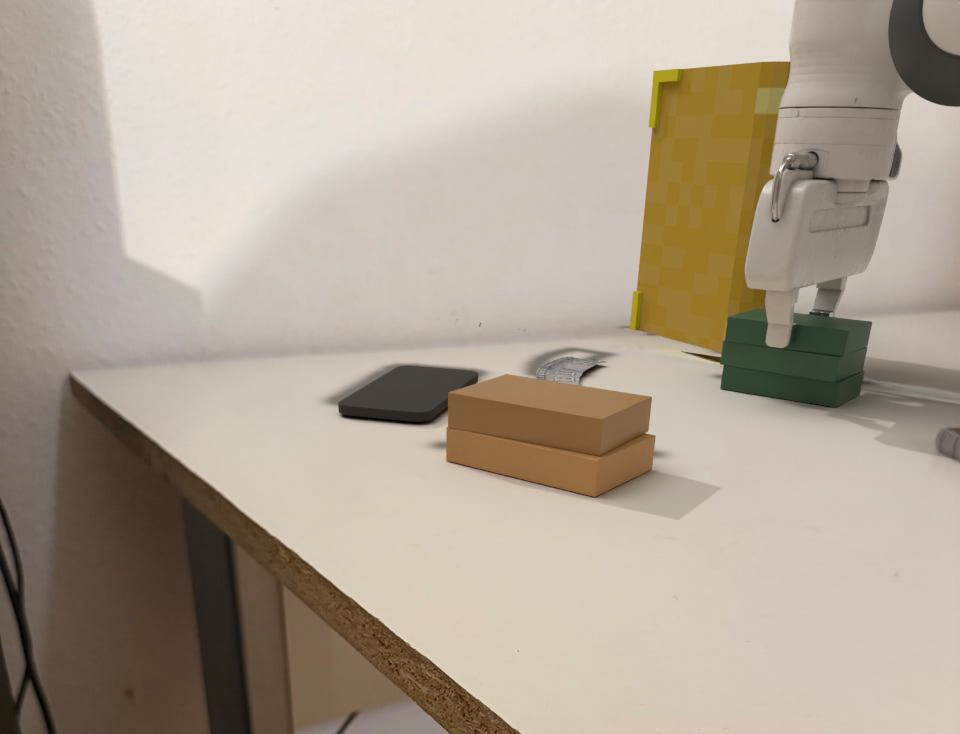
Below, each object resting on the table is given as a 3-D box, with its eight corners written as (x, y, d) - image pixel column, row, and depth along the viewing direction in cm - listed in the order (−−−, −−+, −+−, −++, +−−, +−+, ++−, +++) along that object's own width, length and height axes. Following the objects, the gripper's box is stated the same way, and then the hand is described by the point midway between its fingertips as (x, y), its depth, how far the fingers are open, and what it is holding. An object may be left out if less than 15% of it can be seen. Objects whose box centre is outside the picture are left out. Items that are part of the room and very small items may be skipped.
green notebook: (867, 346, 79) (872, 321, 78) (843, 357, 75) (848, 330, 74) (753, 331, 84) (756, 308, 84) (724, 341, 80) (727, 316, 79)
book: (628, 337, 103) (653, 71, 92) (678, 334, 106) (708, 75, 95) (732, 367, 90) (776, 59, 79) (785, 362, 93) (836, 65, 82)
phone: (332, 404, 70) (399, 364, 82) (332, 415, 70) (399, 374, 83) (428, 413, 68) (482, 371, 81) (428, 425, 68) (482, 381, 81)
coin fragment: (574, 389, 80) (575, 384, 80) (520, 382, 81) (520, 377, 81) (609, 362, 90) (609, 358, 90) (560, 357, 92) (561, 352, 92)
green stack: (860, 394, 81) (870, 346, 79) (834, 408, 76) (844, 357, 74) (745, 376, 87) (752, 331, 85) (713, 389, 82) (720, 341, 80)
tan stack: (655, 467, 61) (663, 398, 59) (594, 497, 55) (600, 422, 53) (510, 436, 66) (512, 372, 64) (441, 460, 61) (441, 390, 59)
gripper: (827, 152, 64) (791, 362, 70) (909, 156, 79) (873, 329, 85) (739, 150, 67) (712, 350, 74) (833, 154, 82) (804, 321, 88)
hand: (799, 339), depth 80 cm, fingers open, 8 cm apart
